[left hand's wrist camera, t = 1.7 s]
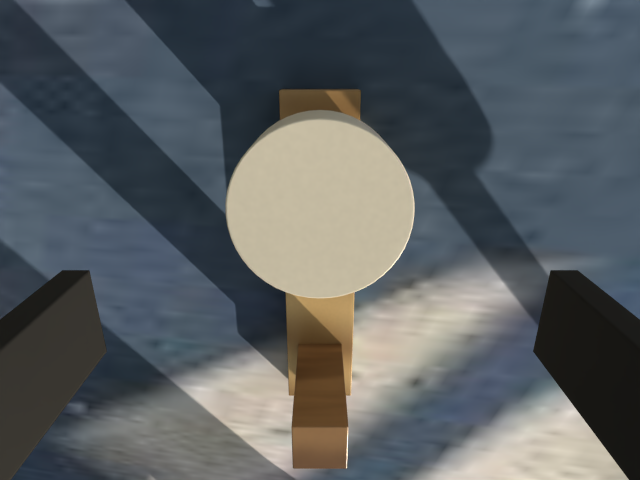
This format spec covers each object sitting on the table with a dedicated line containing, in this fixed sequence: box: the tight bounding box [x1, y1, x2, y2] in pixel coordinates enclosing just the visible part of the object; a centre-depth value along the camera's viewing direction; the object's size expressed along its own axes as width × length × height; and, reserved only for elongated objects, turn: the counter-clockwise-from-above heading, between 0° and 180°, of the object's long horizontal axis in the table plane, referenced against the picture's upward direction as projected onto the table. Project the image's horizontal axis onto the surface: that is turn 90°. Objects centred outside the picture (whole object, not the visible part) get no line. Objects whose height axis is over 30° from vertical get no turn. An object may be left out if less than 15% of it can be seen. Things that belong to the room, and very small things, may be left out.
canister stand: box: [279, 89, 361, 468], centre depth 33 cm, size 28×7×12 cm, turn 0°
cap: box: [226, 110, 414, 298], centre depth 23 cm, size 9×9×4 cm
